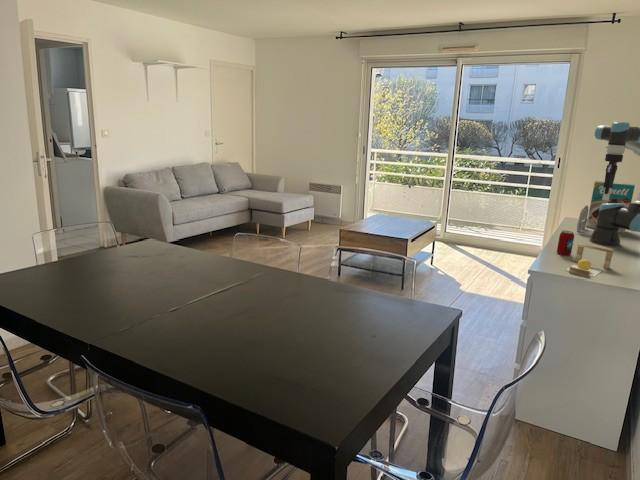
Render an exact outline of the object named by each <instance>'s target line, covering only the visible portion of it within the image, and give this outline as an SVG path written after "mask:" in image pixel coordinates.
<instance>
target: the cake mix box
mask: <svg viewBox="0 0 640 480" xmlns="http://www.w3.org/2000/svg"><path fill="white" fill-rule="evenodd" d="M604 182H605V181H601V180H595V181H594V184H593V185H594V186H593V190H592V194H591V200H590V204H589V208H588V216H587V223H586V226H585V228H588V229H595V228H596V224H597V219H598V214H599V209H600V206H601V204H603V203H622V204H624V206H625V207H627V208H628V206H629V204H630V203H632V201H633V197H634V192H635V186H636V185H635V184H630V183H621V182H613V188H611V187H610V188H611V192H610V196H609V200H608V201H607V200H602V198H603V193H604V188H605V187H603V186H604ZM625 232H626V229H623V228H619V233H623V234H624V233H625Z"/></svg>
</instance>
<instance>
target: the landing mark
mask: <svg viewBox="0 0 640 480" xmlns="http://www.w3.org/2000/svg"><path fill="white" fill-rule="evenodd" d="M570 267H575V268H578V266H577V264H573V265H571V266H570ZM570 267H568V268H567V269H565V271H568V272H569V270H570ZM588 271H590V274H589V277H592V278H595V277H596V276H598V275H599V274H600V273H601V272H602V270H599V269H593V268H590V269H589V270H588Z"/></svg>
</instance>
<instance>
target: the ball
mask: <svg viewBox="0 0 640 480" xmlns="http://www.w3.org/2000/svg"><path fill="white" fill-rule="evenodd" d="M591 264H592V263H591V261H590V260H588V259H586V258H584V259H583V258H582V260H580V261H579V262H577V264H576V265H577V266H578V268H579V269H584V270H589V269H591V267H592V265H591Z"/></svg>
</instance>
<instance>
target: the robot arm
mask: <svg viewBox="0 0 640 480" xmlns="http://www.w3.org/2000/svg"><path fill="white" fill-rule="evenodd" d="M594 137H595V139H596V140H601V141H606V142H608V143H607V146H606V147H605V148H606V153H605V158H604V161H605V162H608V164H607V166H606V168H605V176H604V181H603V182H604V186H603V187H605V188H604V193H603V198H602V200H607V201H608V200H609V196H610V192H611V188H613V183H615V178H616V173H617V171H618V163H623V159H624V155H623V154H624V153H625V150H626V149H627V150H630V151H632V152H633V154H635V155H637V156H640V127H639V126H630V123H629V122H625V121H624V122H621V121H618V122H617V121H614V122H612V125H607V124H605V125H604V124H600V125H598V126H597V127H596V128H595V131H594ZM610 187H611V188H610ZM619 228H623V229H625V230H628V231H631V232H636V233H640V192H639V194H638V195H637V196H636V199H635V201H633V202H632V201H631V203H630V204H629V206H628V208H627V207H625V206H624V204H622V203H603V204H601V206H600V209H599V214H598V219H597V224H596V228H594V229H593V230H594V232H593V233H592V235H591V236H589V237H590V238H589V241H590V242H592V243H593V244H597V245H601V246H610V247H611V246H612V247H618V246H620V244H621V235H620V232H619Z"/></svg>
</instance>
